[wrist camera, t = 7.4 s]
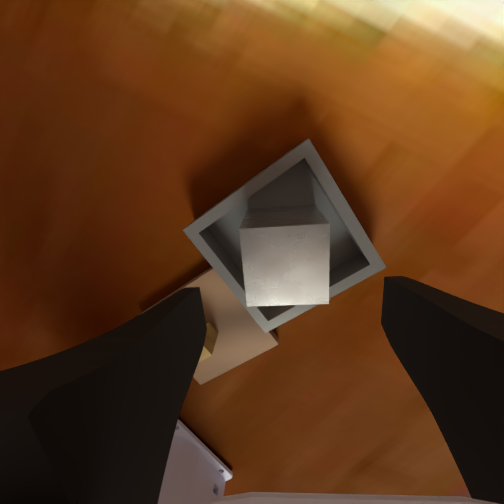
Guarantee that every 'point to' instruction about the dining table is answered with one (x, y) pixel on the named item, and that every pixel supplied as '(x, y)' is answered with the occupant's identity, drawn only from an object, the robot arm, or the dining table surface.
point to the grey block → (285, 256)
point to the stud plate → (225, 328)
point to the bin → (280, 195)
